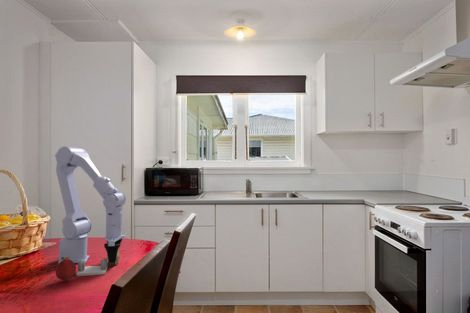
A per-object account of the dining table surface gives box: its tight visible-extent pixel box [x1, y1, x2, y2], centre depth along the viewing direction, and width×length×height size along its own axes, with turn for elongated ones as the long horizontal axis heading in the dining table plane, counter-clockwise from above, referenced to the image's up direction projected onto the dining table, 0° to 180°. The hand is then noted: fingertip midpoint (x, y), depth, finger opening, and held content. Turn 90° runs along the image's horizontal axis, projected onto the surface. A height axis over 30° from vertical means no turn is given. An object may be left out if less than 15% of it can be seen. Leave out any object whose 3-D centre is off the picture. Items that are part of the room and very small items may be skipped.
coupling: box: [106, 248, 121, 267], centre depth 120 cm, size 5×5×6 cm
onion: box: [54, 256, 77, 282], centre depth 102 cm, size 6×6×8 cm
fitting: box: [76, 257, 108, 277], centre depth 111 cm, size 9×7×4 cm
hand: (113, 260), depth 120 cm, fingers closed on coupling, 5 cm apart
